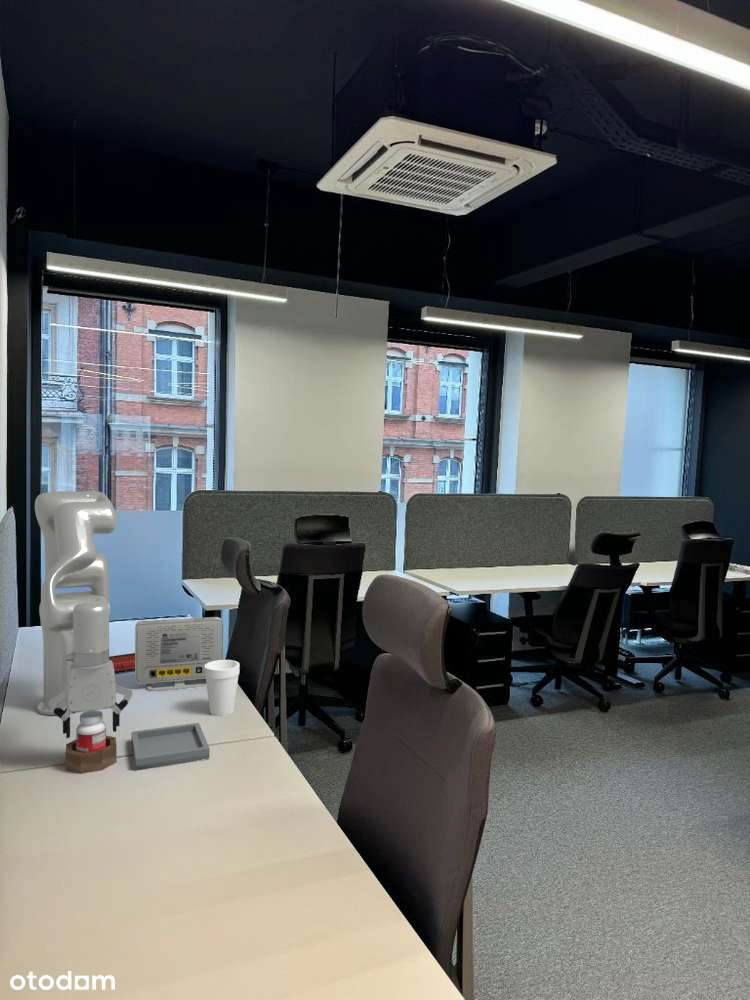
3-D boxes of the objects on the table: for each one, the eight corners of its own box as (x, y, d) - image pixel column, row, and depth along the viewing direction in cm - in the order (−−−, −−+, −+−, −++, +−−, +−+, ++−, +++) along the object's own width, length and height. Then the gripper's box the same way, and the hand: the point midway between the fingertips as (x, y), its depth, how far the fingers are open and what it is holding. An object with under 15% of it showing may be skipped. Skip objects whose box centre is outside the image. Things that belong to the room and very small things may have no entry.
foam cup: (230, 719, 175) (230, 671, 174) (198, 716, 177) (198, 668, 176) (244, 706, 184) (244, 661, 183) (213, 703, 186) (214, 658, 185)
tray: (131, 741, 160) (131, 731, 160) (198, 732, 166) (198, 722, 166) (135, 770, 145) (135, 759, 145) (209, 758, 152) (209, 748, 151)
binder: (74, 659, 217) (140, 651, 229) (74, 666, 218) (140, 657, 229) (83, 675, 204) (152, 665, 215) (83, 682, 204) (152, 672, 216)
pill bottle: (71, 762, 148) (71, 714, 148) (97, 753, 153) (97, 706, 153) (84, 770, 144) (84, 721, 144) (111, 761, 149) (111, 713, 149)
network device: (220, 677, 209) (221, 615, 208) (223, 686, 201) (224, 621, 200) (135, 683, 201) (135, 619, 200) (134, 693, 193) (134, 626, 192)
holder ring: (66, 755, 152) (66, 738, 151) (115, 748, 156) (115, 732, 155) (65, 775, 142) (65, 757, 142) (117, 767, 146) (117, 750, 146)
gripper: (47, 666, 140) (48, 745, 141) (133, 658, 147) (133, 733, 148) (49, 657, 147) (49, 732, 148) (131, 649, 154) (131, 721, 155)
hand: (91, 732), depth 148 cm, fingers open, 9 cm apart
